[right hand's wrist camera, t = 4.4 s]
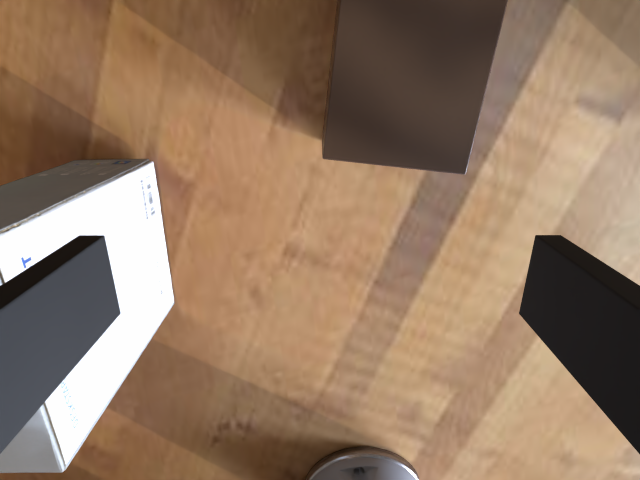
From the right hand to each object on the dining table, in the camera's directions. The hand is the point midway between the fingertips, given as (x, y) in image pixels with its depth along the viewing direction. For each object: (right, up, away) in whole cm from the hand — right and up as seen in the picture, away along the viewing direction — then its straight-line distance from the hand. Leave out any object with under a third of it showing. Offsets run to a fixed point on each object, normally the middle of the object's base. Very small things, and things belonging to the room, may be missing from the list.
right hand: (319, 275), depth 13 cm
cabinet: (+6, +19, +21) cm, 29 cm away
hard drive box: (-19, +1, +27) cm, 33 cm away
